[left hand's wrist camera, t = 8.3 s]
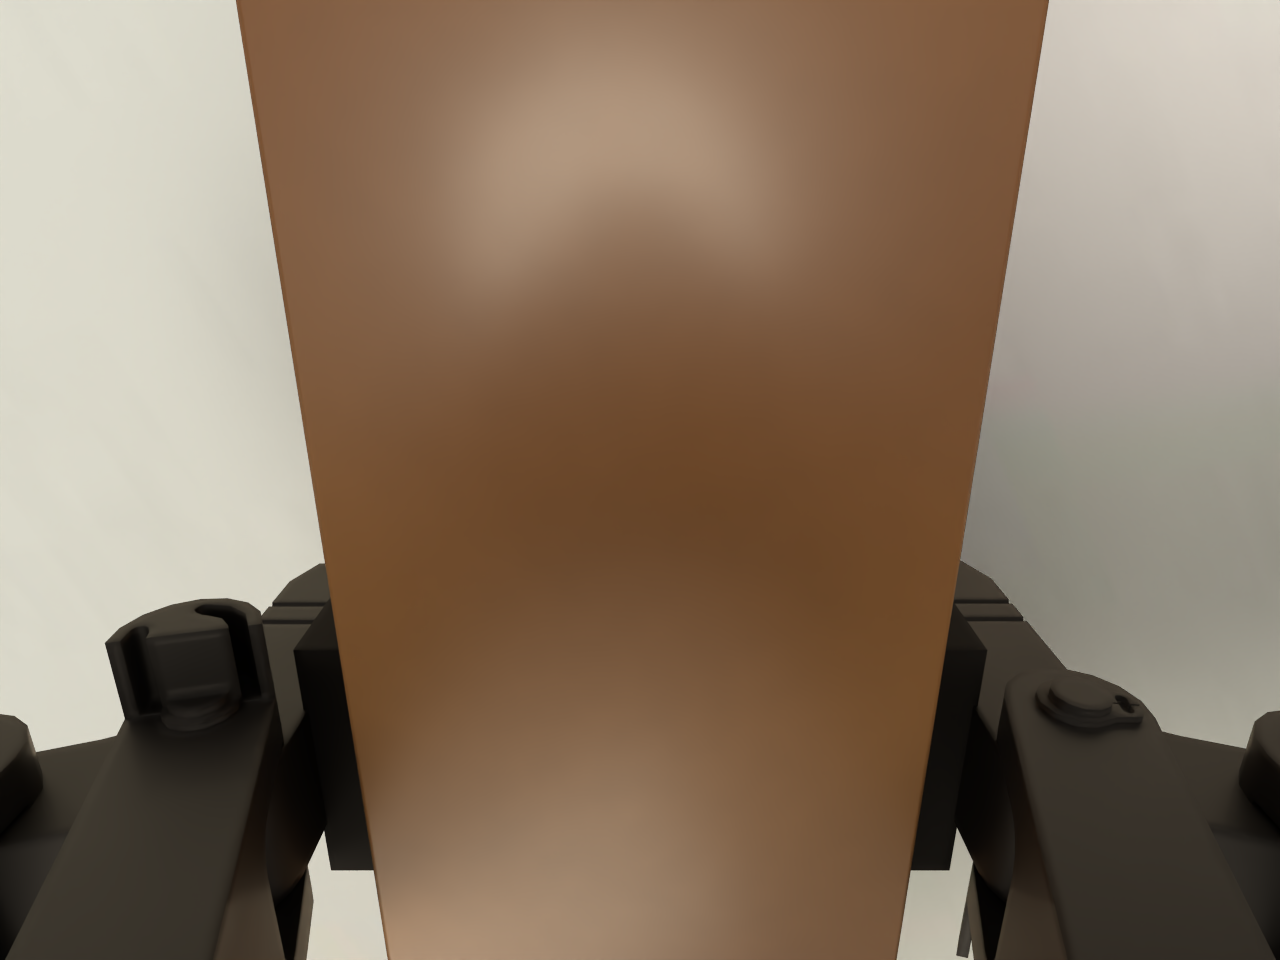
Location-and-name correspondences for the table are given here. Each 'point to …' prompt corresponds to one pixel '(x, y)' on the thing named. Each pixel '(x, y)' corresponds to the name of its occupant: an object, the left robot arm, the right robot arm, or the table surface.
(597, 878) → the bar
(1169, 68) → the table surface
